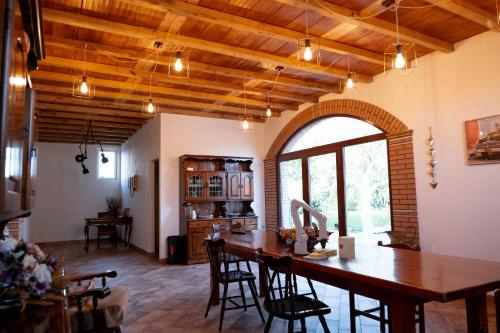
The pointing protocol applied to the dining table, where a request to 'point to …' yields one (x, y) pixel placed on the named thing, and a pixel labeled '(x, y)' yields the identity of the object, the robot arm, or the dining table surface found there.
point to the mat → (315, 257)
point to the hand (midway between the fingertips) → (323, 248)
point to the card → (316, 255)
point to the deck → (326, 252)
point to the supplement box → (346, 247)
